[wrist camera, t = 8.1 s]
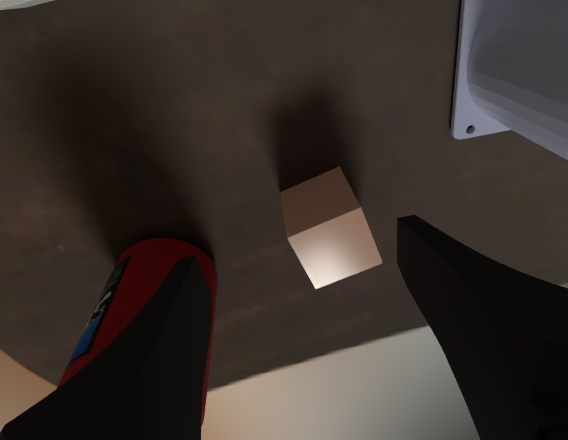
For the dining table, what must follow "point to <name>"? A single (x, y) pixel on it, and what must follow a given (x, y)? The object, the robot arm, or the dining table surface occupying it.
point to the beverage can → (137, 298)
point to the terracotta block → (328, 228)
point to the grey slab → (19, 3)
